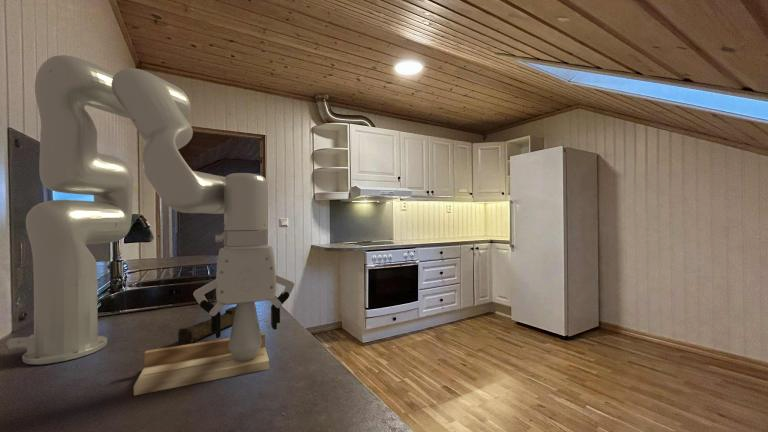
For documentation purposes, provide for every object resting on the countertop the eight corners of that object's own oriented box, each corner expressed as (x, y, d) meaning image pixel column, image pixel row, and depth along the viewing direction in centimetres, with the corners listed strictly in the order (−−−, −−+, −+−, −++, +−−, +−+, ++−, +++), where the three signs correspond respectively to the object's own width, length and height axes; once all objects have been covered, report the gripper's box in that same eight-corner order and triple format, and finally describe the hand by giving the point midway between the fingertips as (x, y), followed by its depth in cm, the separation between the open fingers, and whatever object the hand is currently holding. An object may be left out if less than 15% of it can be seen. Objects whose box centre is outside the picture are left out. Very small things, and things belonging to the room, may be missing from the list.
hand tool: (190, 348, 70) (190, 326, 70) (176, 345, 72) (176, 324, 72) (253, 321, 88) (253, 304, 88) (241, 320, 89) (241, 303, 89)
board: (133, 395, 51) (133, 369, 51) (148, 369, 60) (148, 347, 60) (269, 368, 59) (268, 346, 59) (263, 349, 68) (263, 330, 68)
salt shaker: (228, 366, 57) (227, 292, 57) (228, 354, 62) (227, 286, 62) (263, 359, 60) (263, 288, 60) (260, 348, 65) (260, 283, 65)
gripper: (190, 243, 54) (191, 346, 54) (297, 239, 61) (297, 330, 61) (195, 240, 61) (195, 332, 61) (290, 237, 68) (291, 319, 68)
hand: (247, 331), depth 61 cm, fingers open, 9 cm apart
